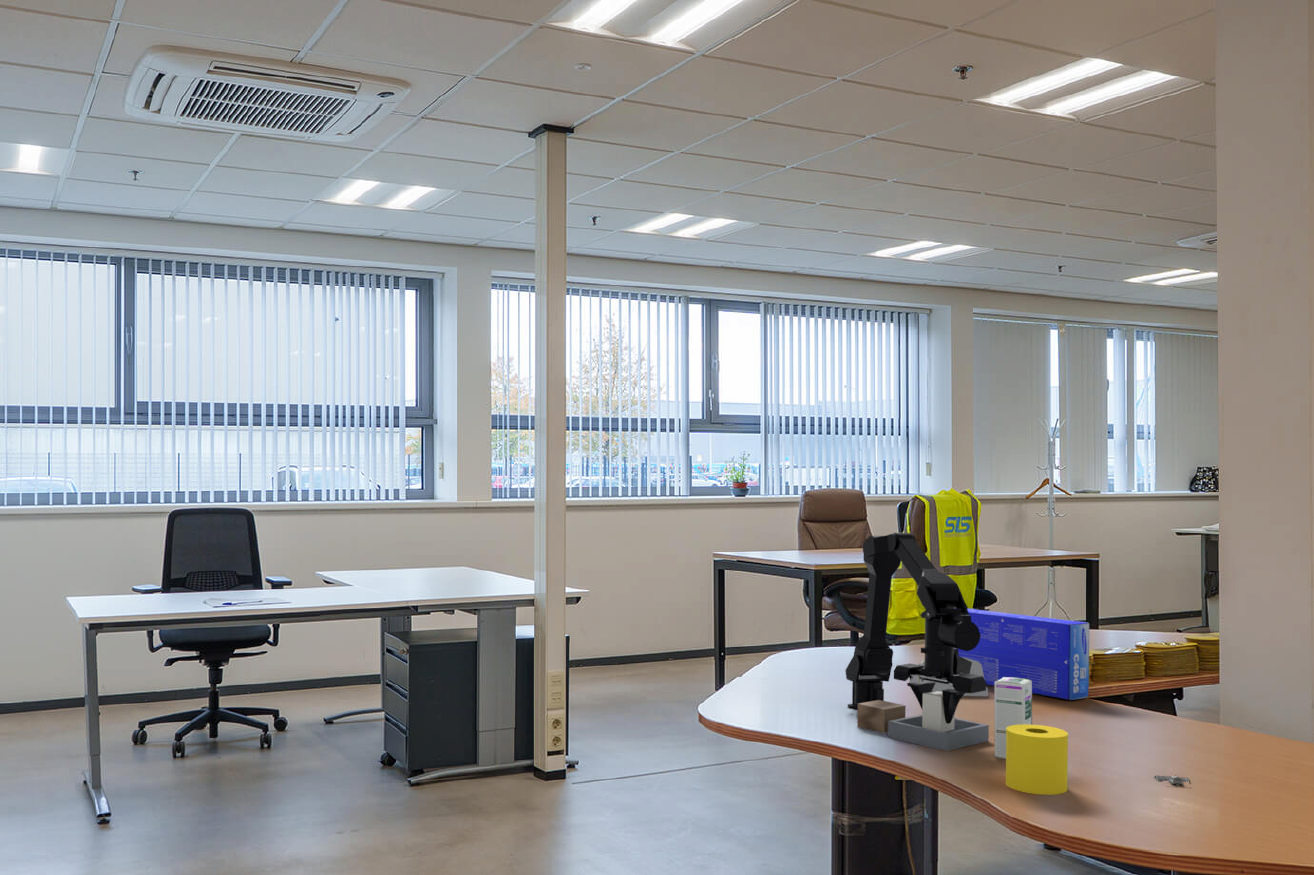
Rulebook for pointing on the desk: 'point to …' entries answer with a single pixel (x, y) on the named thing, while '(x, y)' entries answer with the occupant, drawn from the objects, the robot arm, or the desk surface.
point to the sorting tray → (938, 733)
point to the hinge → (975, 670)
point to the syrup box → (1010, 708)
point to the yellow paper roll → (1036, 759)
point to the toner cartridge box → (1033, 652)
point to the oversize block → (878, 715)
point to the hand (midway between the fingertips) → (938, 721)
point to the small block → (935, 712)
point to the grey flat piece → (1172, 779)
